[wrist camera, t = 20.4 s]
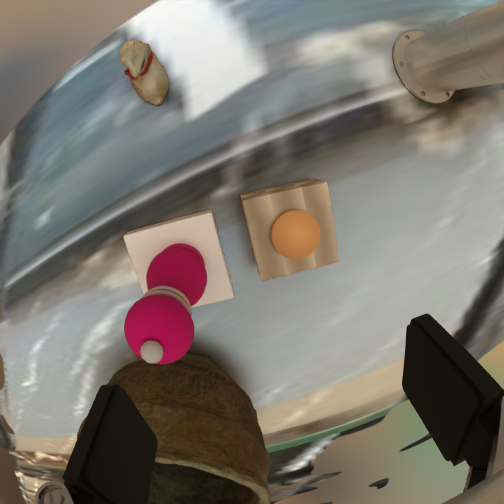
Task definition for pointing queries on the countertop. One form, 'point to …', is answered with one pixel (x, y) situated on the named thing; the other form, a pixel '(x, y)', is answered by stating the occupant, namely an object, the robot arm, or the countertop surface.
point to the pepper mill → (167, 305)
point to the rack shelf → (187, 232)
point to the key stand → (276, 203)
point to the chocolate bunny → (144, 71)
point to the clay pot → (198, 433)
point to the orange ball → (295, 234)
